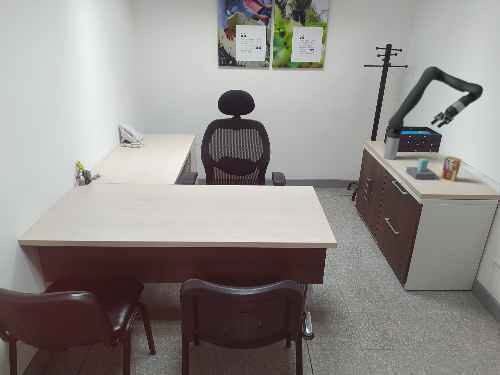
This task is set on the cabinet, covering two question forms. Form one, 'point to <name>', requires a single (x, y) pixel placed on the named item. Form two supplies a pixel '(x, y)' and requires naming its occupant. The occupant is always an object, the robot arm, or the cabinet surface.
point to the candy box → (450, 168)
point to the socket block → (420, 173)
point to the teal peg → (422, 165)
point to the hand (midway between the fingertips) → (434, 125)
